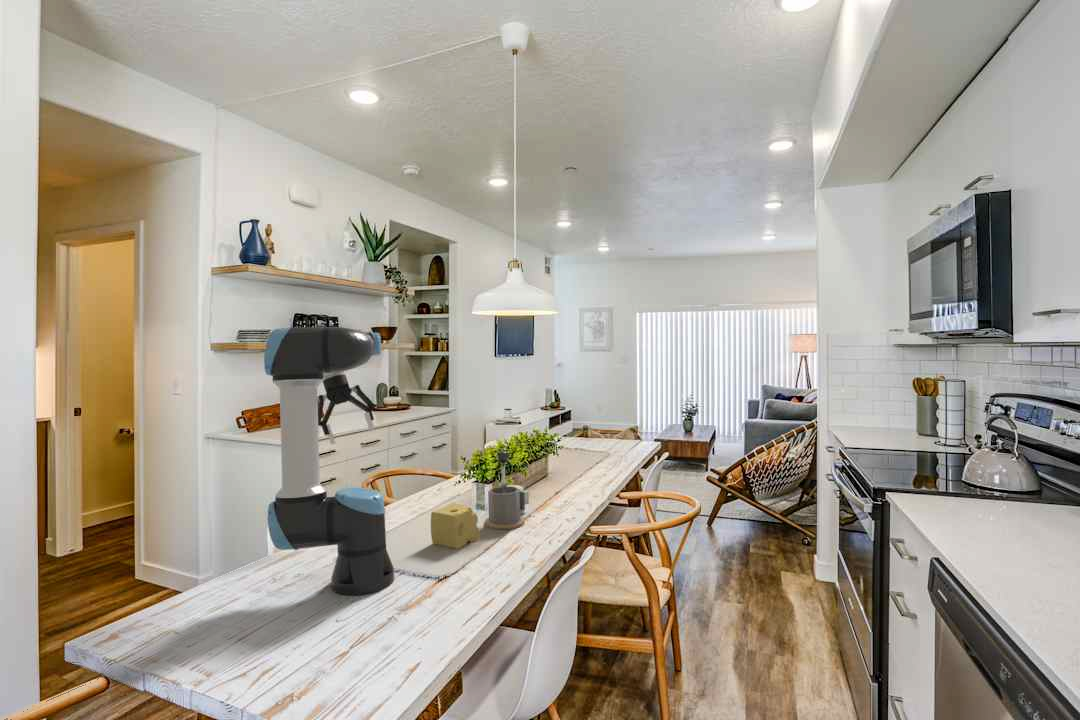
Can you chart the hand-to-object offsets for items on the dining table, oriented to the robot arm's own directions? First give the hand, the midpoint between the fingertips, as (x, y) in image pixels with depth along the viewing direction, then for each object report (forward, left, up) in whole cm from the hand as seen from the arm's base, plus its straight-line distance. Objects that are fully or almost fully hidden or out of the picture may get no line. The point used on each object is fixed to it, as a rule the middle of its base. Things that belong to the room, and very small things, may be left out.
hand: (353, 437), depth 187 cm
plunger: (-27, -42, -22) cm, 54 cm away
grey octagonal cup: (-27, -42, -29) cm, 58 cm away
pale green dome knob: (-19, -50, -29) cm, 61 cm away
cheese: (-34, -22, -30) cm, 50 cm away
